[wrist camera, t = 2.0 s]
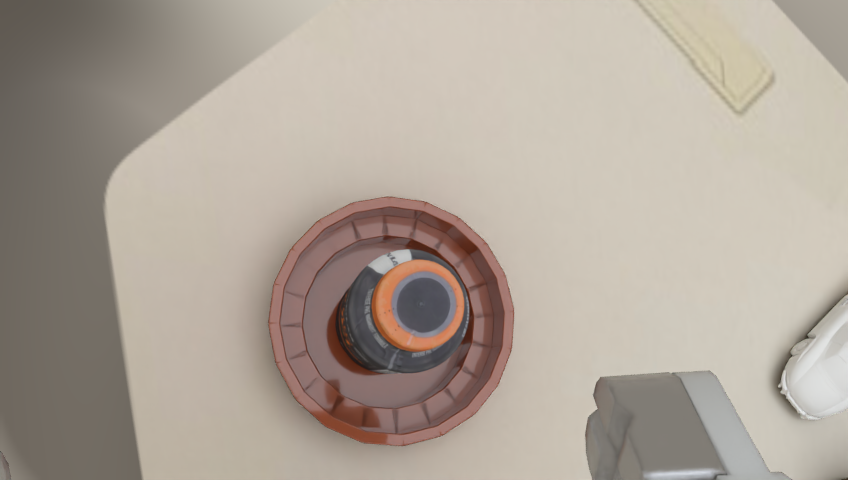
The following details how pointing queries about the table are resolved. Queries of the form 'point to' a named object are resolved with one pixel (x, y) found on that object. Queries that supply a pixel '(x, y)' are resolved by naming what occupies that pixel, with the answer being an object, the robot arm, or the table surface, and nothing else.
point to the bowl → (390, 393)
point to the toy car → (820, 368)
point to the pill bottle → (403, 313)
